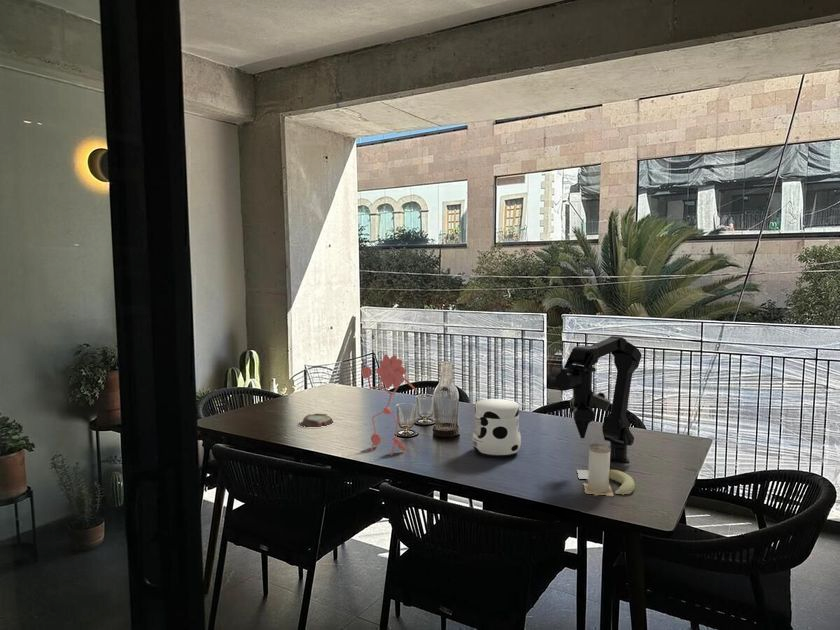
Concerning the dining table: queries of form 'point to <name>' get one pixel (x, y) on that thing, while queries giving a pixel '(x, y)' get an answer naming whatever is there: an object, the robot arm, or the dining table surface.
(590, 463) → the tumbler
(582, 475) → the grey square tile
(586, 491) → the cork coaster
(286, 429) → the dining table surface
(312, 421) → the quiche
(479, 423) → the milk container
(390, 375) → the pink blossom sprig
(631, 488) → the fruit
